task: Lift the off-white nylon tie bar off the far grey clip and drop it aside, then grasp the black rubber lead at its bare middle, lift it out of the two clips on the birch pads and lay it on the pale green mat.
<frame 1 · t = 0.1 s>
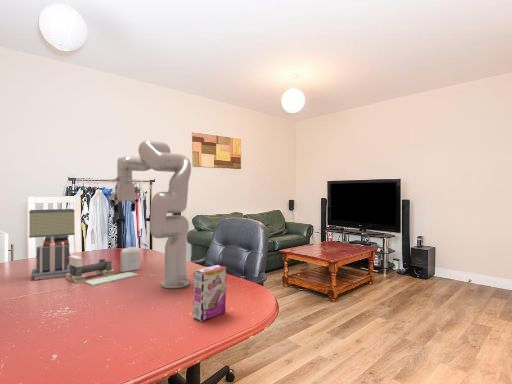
hand: (124, 211, 170), 31 cm above the table, fingers open, 9 cm apart
photo printer: (130, 270, 166), on the table
tie: (75, 265, 148), point 7 cm above the table, touching clamp board
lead: (91, 271, 153), point 3 cm above the table, touching clamp board
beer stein: (55, 264, 179), on the table
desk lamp: (52, 275, 156), on the table
candy bar box: (210, 316, 107), on the table
mat: (112, 278, 150), on the table
clamp board: (91, 276, 153), on the table
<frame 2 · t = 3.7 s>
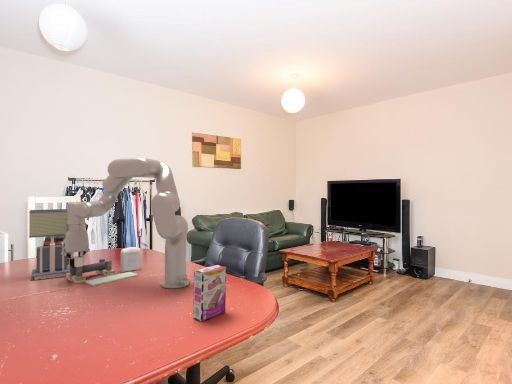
hand: (75, 266, 148), 7 cm above the table, fingers closed on tie, 2 cm apart
tie: (75, 265, 148), point 7 cm above the table, touching clamp board, gripper
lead: (91, 271, 153), point 3 cm above the table, tilted 22°, touching clamp board
everything else where it was.
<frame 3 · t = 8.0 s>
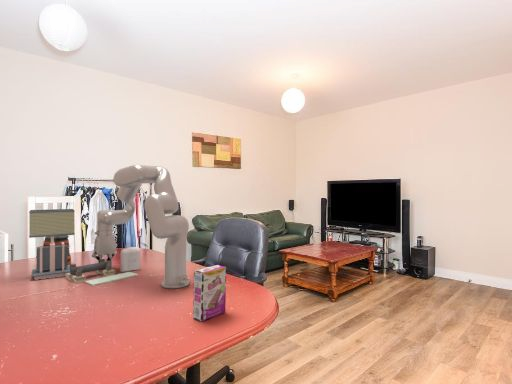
hand: (104, 266, 168), 1 cm above the table, fingers open, 3 cm apart
tie: (104, 267, 168), point 1 cm above the table, tilted 10°
everything else where it was.
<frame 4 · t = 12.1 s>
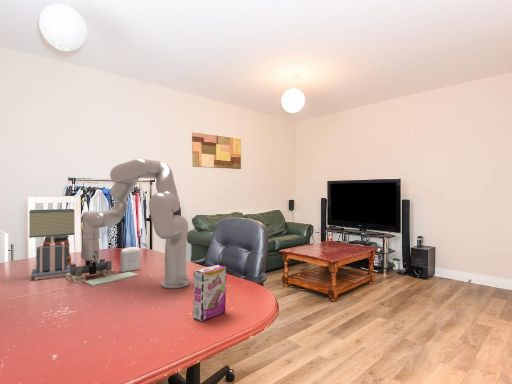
hand: (90, 273, 153), 2 cm above the table, fingers closed on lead, 3 cm apart
tie: (103, 269, 168), on the table
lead: (91, 271, 153), point 3 cm above the table, tilted 7°, touching clamp board, gripper
everything else where it was.
when the fingers open (1 cm above the table, at t = 17.6 s): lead drops 1 cm, resting on mat.
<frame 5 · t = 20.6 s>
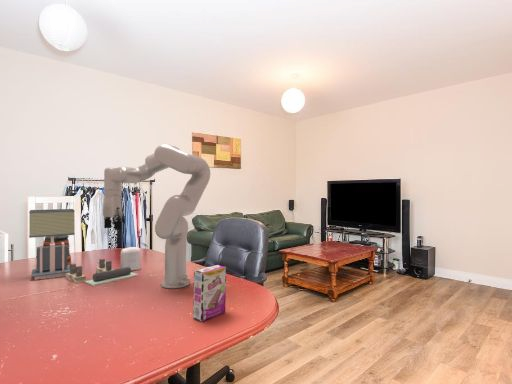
hand: (112, 228, 150), 24 cm above the table, fingers open, 9 cm apart
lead: (113, 277, 150), point 1 cm above the table, tilted 12°, touching mat
everything else where it was.
at the end: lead inside the target area on the mat (0.3 cm from its centre), point 0.6 cm above the mat's base; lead touching mat; tie moved 21.9 cm from its start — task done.
